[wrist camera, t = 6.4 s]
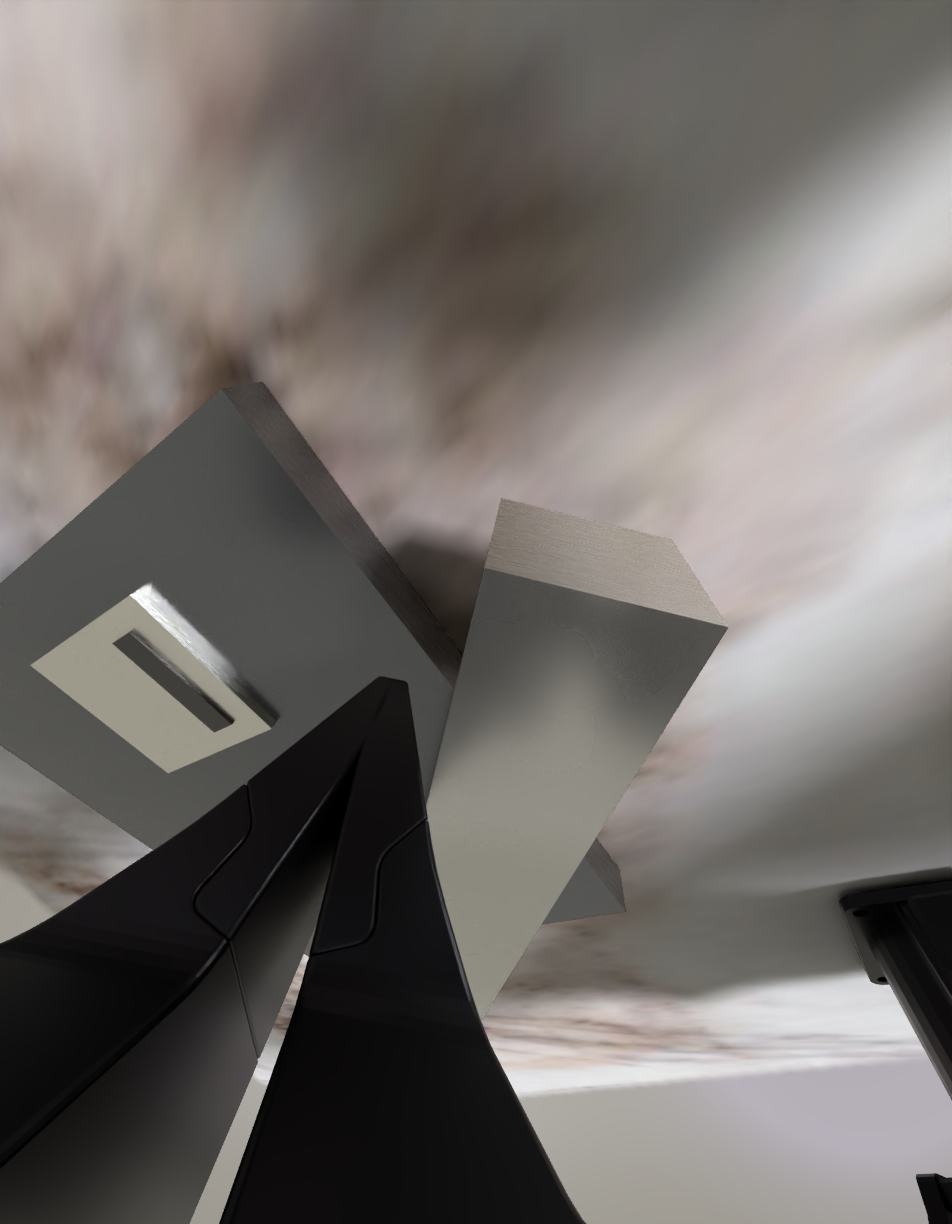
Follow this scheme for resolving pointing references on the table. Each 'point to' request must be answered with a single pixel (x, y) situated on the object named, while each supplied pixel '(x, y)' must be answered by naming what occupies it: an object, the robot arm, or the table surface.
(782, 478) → the table surface
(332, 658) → the panel
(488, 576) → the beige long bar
